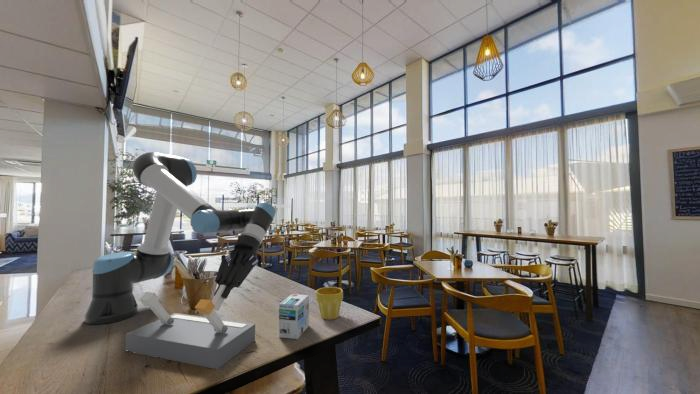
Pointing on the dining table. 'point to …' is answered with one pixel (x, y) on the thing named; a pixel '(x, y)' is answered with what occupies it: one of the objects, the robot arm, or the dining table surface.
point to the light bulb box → (293, 316)
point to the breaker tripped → (211, 315)
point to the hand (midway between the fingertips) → (213, 308)
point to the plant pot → (329, 301)
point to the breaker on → (156, 307)
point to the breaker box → (191, 340)
